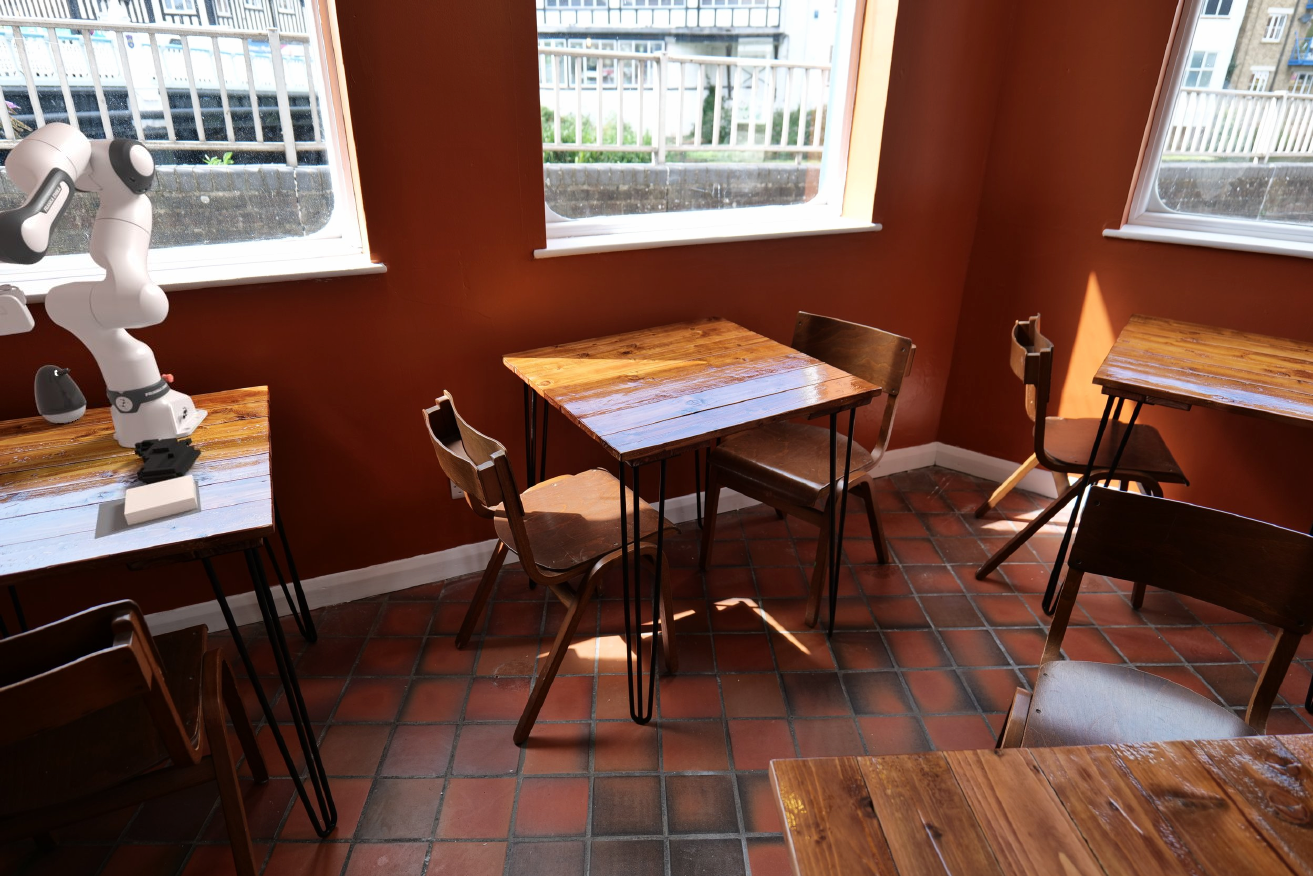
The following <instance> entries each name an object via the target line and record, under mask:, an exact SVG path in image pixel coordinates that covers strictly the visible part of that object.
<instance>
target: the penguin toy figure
mask: <svg viewBox="0 0 1313 876" xmlns="http://www.w3.org/2000/svg"><path fill="white" fill-rule="evenodd" d="M70 371H71V369H70V368H68V367H66V368H64V369H62V368H60V367H59V366H56V365H52V364H51V365H50V364H48V365H44V366H42V367H40V368H39V369H38V370H37V373H36V374H35V379H34V397H35V403H36V407H37V410H38V413H39V414H40V415H42V417H43V418H44V419H45V420H47V421H48V422H50V423H54V424H57V423H64V424H69V423H72V421H73V422H75V420H76V421H78V420H79V419H81V418H82V417H83V416H84V414H85V412H86V409H87V408H86V407H87V400H86V398H85V396H84V394H83V392H82V391H81V390H80V389H81V388H79V386H78V384H77V383H76V382H75V381H74V380H73V378H71V376H70V375H69V374H68V373H69V372H70ZM77 419H78V420H77ZM68 422H69V423H68Z"/></svg>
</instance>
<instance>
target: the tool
mask: <svg viewBox="0 0 1313 876" xmlns="http://www.w3.org/2000/svg"><path fill="white" fill-rule="evenodd" d="M192 440H193V439H192V437H188V438H187V437H186V438H185V439H179V440H178V438H169V439H161V440H159V439H151V440H143V441H142V442H138V443H136V444H135V448H134V450H133V452H134V454H135V455H136V456H137V455H138V457H139V458H141V459H142V462H143V464H142V466H141V467H139V468H140V469H139V470H138V471H137V472H136V477H137V478H138V481H139V482H142V483H143V484H145V485H149V484H153V483H158V482H162V481H166V480H171V479H175V478H179V477H184V476H186V473H188V470H189V469H190V468H191V467H192V466H193V465H194V463H195V462H196V461H197V459H199V457H200V456H201V455H202V451H201V449H200V448H198V449H195V446H194V445H191V444H192V443H193V441H192Z"/></svg>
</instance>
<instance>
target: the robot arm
mask: <svg viewBox="0 0 1313 876" xmlns="http://www.w3.org/2000/svg"><path fill="white" fill-rule="evenodd" d="M155 163H156V161H155V159H154V157H153V154H152V153H151V151H150V150H149V149H148V147H147V146H145V144H143V143H142V142H141V141H140V140H136V139H133V138H127V137H117V138H100V139H92V140H91V139H90V140H89V139H88V137H86V135H85V134H84V133H83V132H82V131H81V130H79V129H78V128H77V127H76V126H73V125H71V124H69V123H64V122H61V121H60V122H59V121H58V122H56V121H55V122H50V123H47V124H45V125H43V126H41V127H39V128H38V129H36V130H33V132H31V133H29V134H28V135H26V137H24V138H23V139H22V140H20V141H19V143H17V145H15V146H14V147H13V148H12V149H11V150H10V152H9V153H8V154H7V157H6V159H5V161H4V168H5V171H6V175H7V176H8V179H9V180H10V181H11V183H12V184H13V185H14V186H15V187H16V188H17V189H18V190H19V191H20V192H21V193H23V194H24V195H25V196H27V198H26V199H25V201H24V202H23V203H22V205H21V206H20V207H16V208H13V209H8V210H1V211H0V264H11V265H23V266H25V265H26V266H29V265H34V264H37V263H39V262H41V261H42V259H44V258H45V256H46V255H47V252H48V250H49V248H50V245H51V240H52V236H53V234H54V231H55V230H56V228H57V227H58V225H59V223H60V222H61V220H62V218H63V217H64V215H65V213H66V211H67V210H68V208H69V207H70V205H71V203H72V201H73V199H74V197H75V193H76V192H77V193H85V194H86V193H91V192H97V193H98V196H99V201H100V205H99V207H98V210H97V212H96V216H95V220H94V224H93V228H92V229H93V230H92V233H91V237H90V243H89V248H88V252H89V255H90V257H91V258H92V260H93V261H94V263H95V264H96V265H97V266H99V267H101V268H102V269H103V270H105V273H106V274H105V278H104V279H103V280H93V281H92V280H90V281H88V280H87V281H84V280H83V281H71V282H68V283H64V284H59V285H56V286H53V287H51V288H50V289H49V290H48V292H47V293H46V296H45V300H44V306H45V311H46V312H47V315H48V316H49V318H50V319H51V320H52V321H53V322H54V323H55V324H56V325H58V326H60V327H62V328H63V329H65V330H67V331H69V332H71V333H72V334H73V335H74V336H75V337H76V338H78V339H79V340H80V341H81V342H82V343H83V344H84V345H85V347H86V348H87V349H88V350H89V352H91V354H92V355H93V358H94V359H95V361H96V362H97V365H98V367H99V369H100V373H101V374H102V377H103V379H104V381H105V385H106V389H105V390H106V396H107V398H108V399H109V402H110V404H111V406H110V414H111V419H112V422H113V426H114V430H115V432H114V433H113V434H112V435H113V439H114V440H116V441H118V444H119V446H121V447H125V448H129V449H130V448H134V449H136V448H135V444H136V443H138V442H142V441H143V440H151V439H159V440H161V439H169V438H177V439H179V438H184V437H188V436H190V435H192V434H193V432H194V431H195V430H196V429H197V427H199V425H200V424H201V423H202V422H203V421H204V419H205V418H206V417H207V416H208V411H207V409H206V410H205V409H201V408H196V407H195V404H194V402H193V400H192V398H191V396H190V395H187V394H185V393H182V392H179V391H176V390H174V389H171V388H170V386H169V385H168V383H172V382H174V376H173V375H172V374H171V373H169V374H162V375H161V373H160V370H159V368H158V365H157V361H156V359H155V355H154V352H153V351H152V349H151V348H150V347H149V346H148V345H147V344H146V343H144V342H143V341H141V340H138V339H136V338H135V337H133V336H132V335H131V334H130V333H128V331H126V329H142V328H147V327H149V326H153V325H158V324H161V323H163V322H164V320H165V319H166V318H167V316H168V312H169V306H170V305H169V300H168V298H167V294H165V292H164V291H163V289H162V288H161V287H160V286H159V285H157V284H156V283H155V282H154V281H153V280H152V278H151V277H150V275H149V271H148V267H147V266H148V265H147V264H148V255H149V254H148V253H149V247H150V242H151V237H152V236H151V235H152V229H153V208H152V206H153V205H152V202H151V200H150V198H148V196H147V195H146V193H147V192H149V191H150V189H151V188H152V187H153V186H152V185H153V183H152V182H153V181H154V177H155V172H156V164H155ZM26 304H27V297H26V294H25V292H24V290H23V289H21V288H20V287H18V286H15V285H12V284H9V283H6V284H1V285H0V336H7V335H12V334H20V333H21V334H22V333H26V332H31V331H32V330H33V329H34V327H35V320H34V318H33V316H32V314H31V312H30V310H29V309H28V306H27V305H26Z"/></svg>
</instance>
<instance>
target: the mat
mask: <svg viewBox="0 0 1313 876" xmlns="http://www.w3.org/2000/svg"><path fill="white" fill-rule="evenodd" d="M194 482H195V485H196V495H197V506H198V508H196V509H192V510H188V511H184V512H180V513H176V514H172V515H168V516H164V517H160V518H156V519H152V520H148V521H144V522H140V523H136V524H132V525H128V523H127V520H126V518H125V515H124V512H125V500H126V497H124V498H123V497H122V498H118V499H115V500H110V501H105V502H102V503H101V502H100V503H99V507H98V514H97V520H96V521H97V522H96V529H95V534H94V539H95V540H96V539H100V538H105V537H108V536H111V535H115V534H118V533H119V534H120V533H122V532H127V531H131V530H134V529H139V528H143V527H147V526H150V525H151V526H152V525H155V524H159V523H162V522H166V521H171V520H175V519H178V518H183V517H186V516H190V515H193V514H198V513H202V506H201V504H202V503H201V496H200V486H199V480H194Z"/></svg>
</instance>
